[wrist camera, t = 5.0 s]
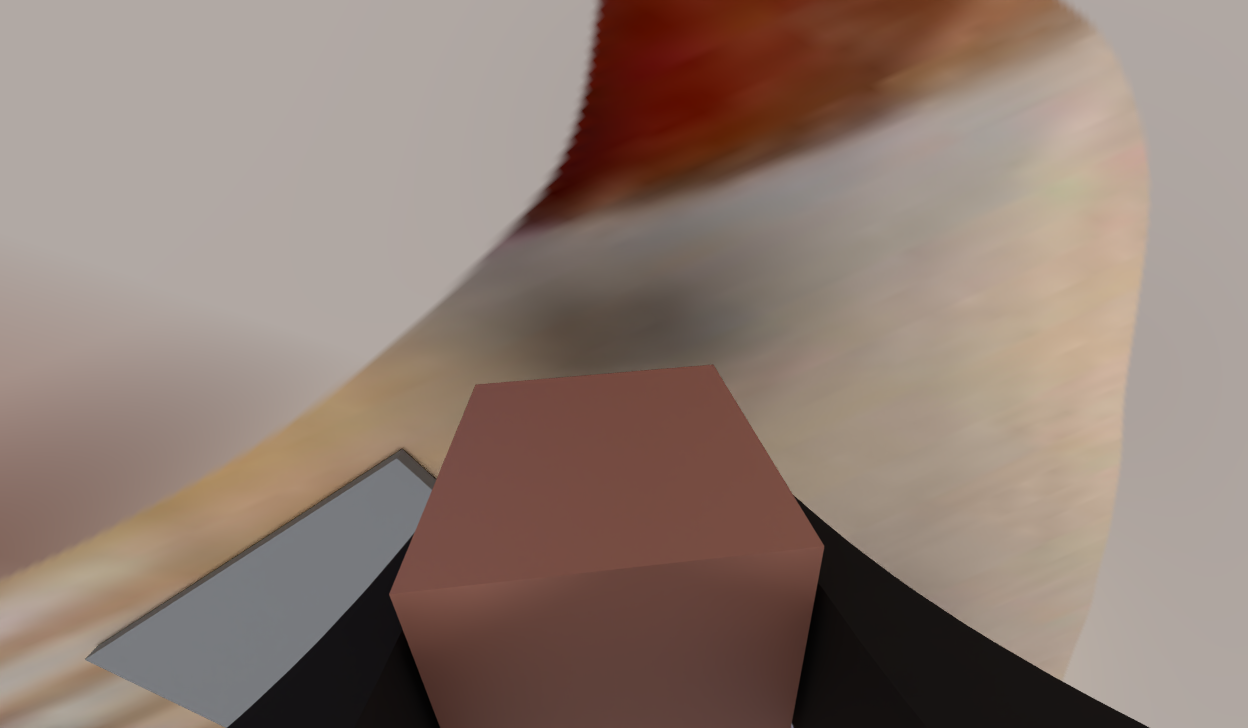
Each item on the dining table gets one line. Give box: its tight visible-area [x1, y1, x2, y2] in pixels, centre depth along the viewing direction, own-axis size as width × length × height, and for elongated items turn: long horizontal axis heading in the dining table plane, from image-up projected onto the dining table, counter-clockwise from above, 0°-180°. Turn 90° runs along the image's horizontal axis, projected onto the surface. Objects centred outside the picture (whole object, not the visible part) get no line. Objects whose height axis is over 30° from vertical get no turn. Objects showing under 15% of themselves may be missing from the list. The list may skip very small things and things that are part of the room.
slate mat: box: [85, 449, 436, 728], centre depth 22 cm, size 18×14×1 cm
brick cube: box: [389, 365, 824, 728], centre depth 9 cm, size 5×5×5 cm
